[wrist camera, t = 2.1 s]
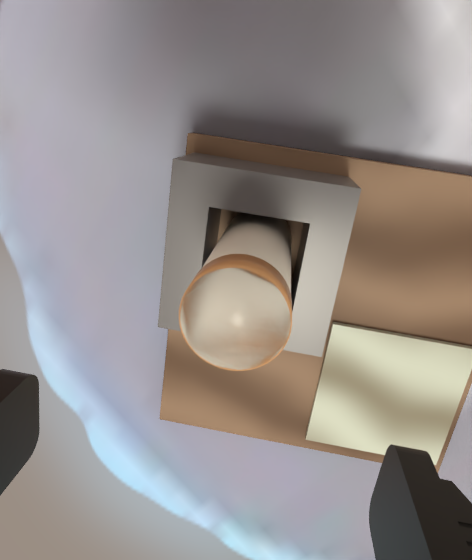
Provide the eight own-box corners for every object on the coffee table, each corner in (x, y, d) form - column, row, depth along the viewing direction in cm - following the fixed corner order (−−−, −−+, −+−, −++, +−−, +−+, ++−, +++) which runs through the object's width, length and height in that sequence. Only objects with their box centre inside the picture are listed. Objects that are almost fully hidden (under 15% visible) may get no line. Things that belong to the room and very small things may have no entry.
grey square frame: (194, 152, 26) (172, 159, 21) (348, 176, 26) (361, 188, 21) (179, 294, 29) (157, 327, 24) (316, 318, 29) (321, 356, 24)
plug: (230, 200, 27) (184, 257, 16) (298, 211, 27) (301, 277, 15) (221, 265, 28) (173, 359, 17) (285, 276, 28) (281, 380, 17)
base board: (193, 132, 27) (186, 133, 25) (531, 184, 26) (548, 189, 24) (165, 406, 34) (157, 422, 32) (431, 458, 33) (439, 477, 31)
